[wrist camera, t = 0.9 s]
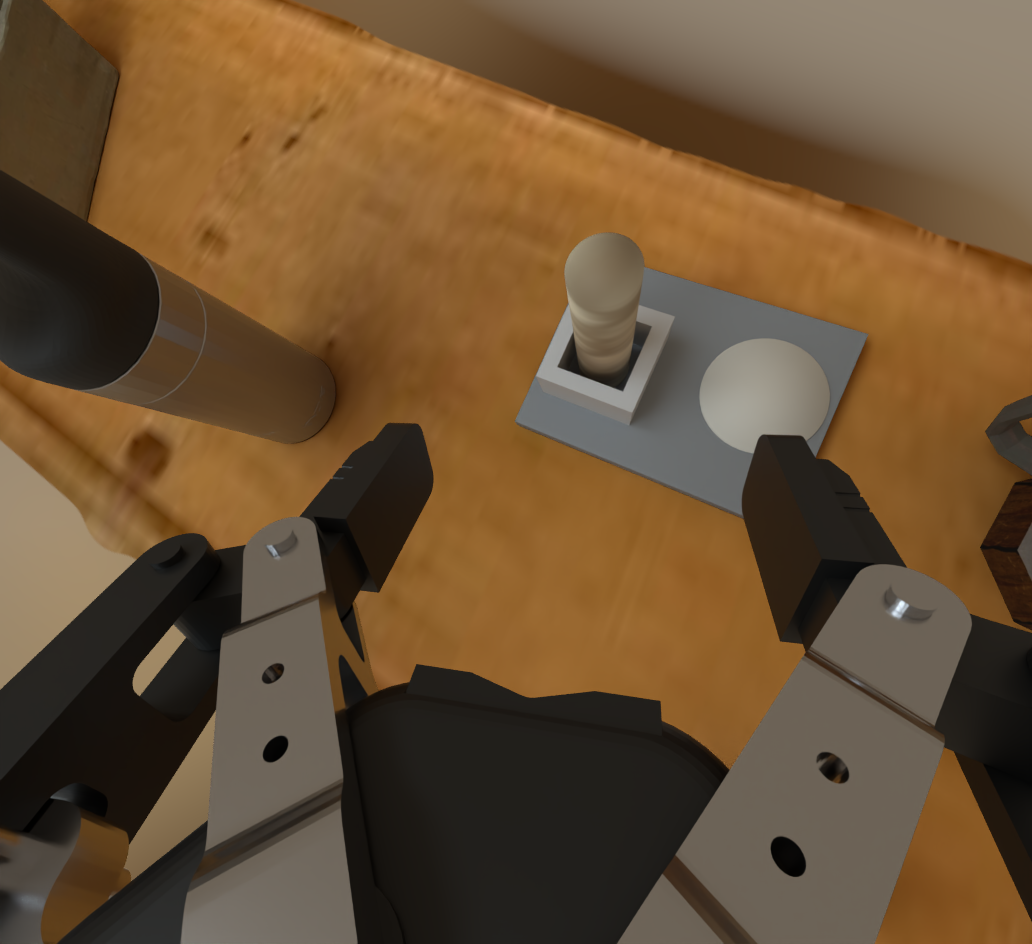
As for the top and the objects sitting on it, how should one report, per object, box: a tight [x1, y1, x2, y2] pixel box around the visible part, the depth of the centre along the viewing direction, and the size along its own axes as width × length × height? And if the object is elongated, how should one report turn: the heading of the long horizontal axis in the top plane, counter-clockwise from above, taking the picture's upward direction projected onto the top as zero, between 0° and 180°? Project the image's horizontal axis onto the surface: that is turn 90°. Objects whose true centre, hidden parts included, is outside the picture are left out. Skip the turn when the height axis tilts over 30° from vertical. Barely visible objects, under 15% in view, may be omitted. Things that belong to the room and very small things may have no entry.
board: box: [515, 267, 868, 519], centre depth 33 cm, size 22×16×6 cm
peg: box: [565, 233, 644, 388], centre depth 29 cm, size 4×4×14 cm
